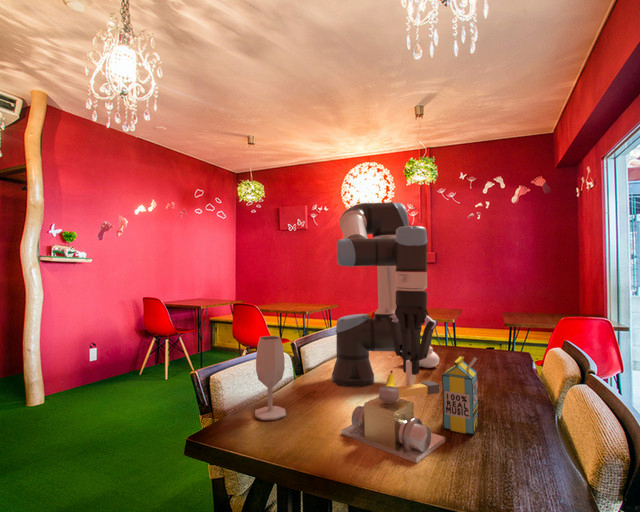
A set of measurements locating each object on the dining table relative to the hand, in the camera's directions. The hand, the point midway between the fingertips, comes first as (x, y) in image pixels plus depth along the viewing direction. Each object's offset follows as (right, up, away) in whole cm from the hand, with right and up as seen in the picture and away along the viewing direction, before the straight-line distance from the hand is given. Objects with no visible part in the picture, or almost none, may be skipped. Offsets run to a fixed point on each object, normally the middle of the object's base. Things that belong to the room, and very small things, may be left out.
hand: (411, 387), depth 89 cm
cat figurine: (+19, -14, +61) cm, 66 cm away
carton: (+13, -11, +2) cm, 17 cm away
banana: (-1, -12, +23) cm, 26 cm away
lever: (-1, -1, -3) cm, 3 cm away
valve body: (-5, -11, -3) cm, 12 cm away
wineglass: (-36, -12, +11) cm, 39 cm away
